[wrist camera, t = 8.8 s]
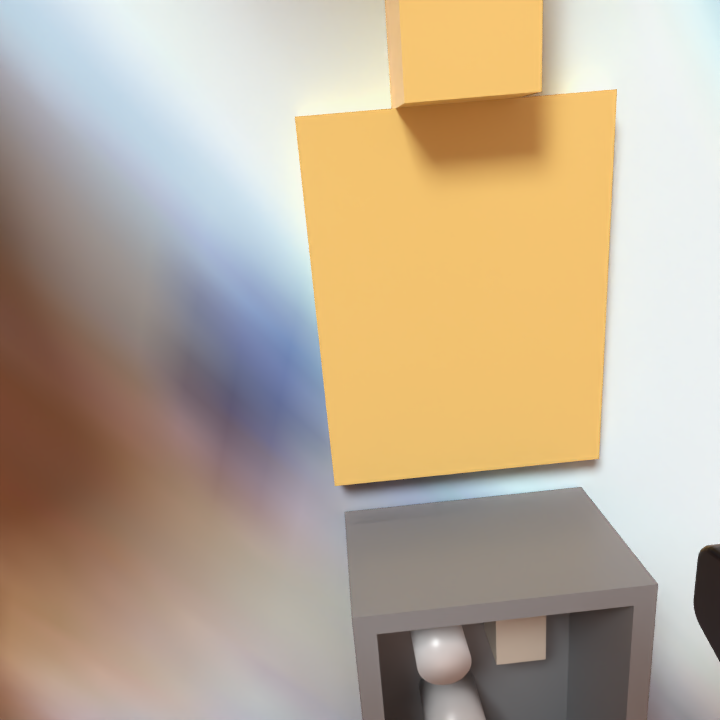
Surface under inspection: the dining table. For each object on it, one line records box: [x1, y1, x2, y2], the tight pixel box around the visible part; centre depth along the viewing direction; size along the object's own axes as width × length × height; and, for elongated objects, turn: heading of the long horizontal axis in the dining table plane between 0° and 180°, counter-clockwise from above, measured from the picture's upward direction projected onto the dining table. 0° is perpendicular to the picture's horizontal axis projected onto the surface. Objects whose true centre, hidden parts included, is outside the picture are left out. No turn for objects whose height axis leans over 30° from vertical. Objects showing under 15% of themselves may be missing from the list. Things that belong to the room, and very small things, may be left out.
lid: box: [295, 0, 617, 486], centre depth 17 cm, size 16×8×3 cm, turn 5°
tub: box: [345, 487, 658, 720], centre depth 20 cm, size 10×8×5 cm
